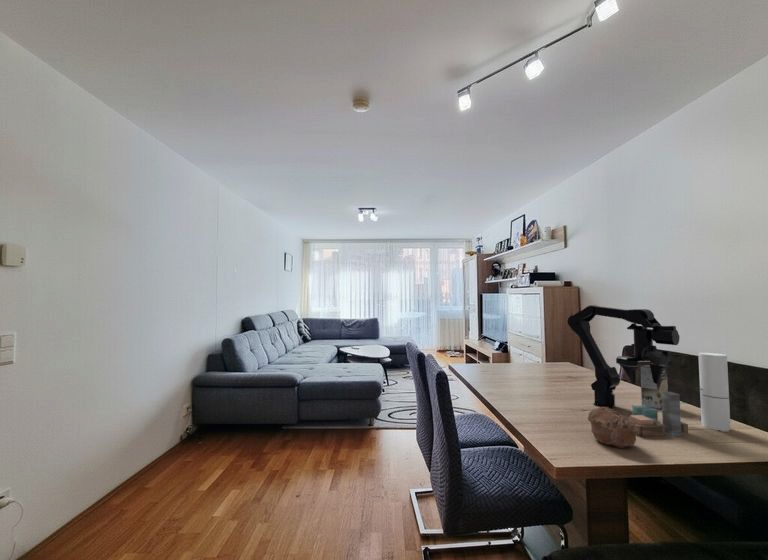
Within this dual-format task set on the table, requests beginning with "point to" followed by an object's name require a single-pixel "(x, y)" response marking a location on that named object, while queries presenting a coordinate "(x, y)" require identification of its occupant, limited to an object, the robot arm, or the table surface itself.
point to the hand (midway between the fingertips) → (644, 383)
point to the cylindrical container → (714, 391)
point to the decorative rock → (612, 427)
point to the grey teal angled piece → (665, 413)
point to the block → (641, 420)
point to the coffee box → (652, 388)
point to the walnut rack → (657, 429)
